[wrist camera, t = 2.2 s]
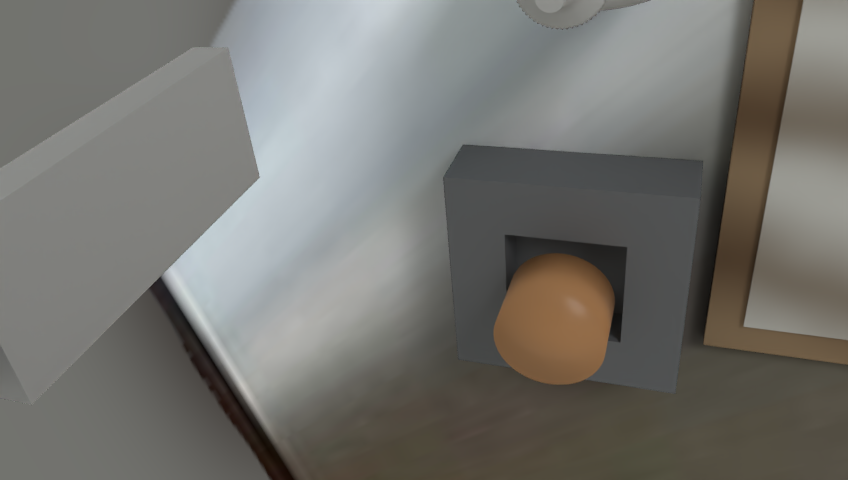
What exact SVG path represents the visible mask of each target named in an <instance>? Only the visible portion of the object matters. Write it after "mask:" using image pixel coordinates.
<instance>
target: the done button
mask: <svg viewBox="0 0 848 480" xmlns="http://www.w3.org/2000/svg"><path fill="white" fill-rule="evenodd" d="M614 306H615V296H614V291H613V289H612V286H611V284H610V282H609V280H608V279H607V278H606V276H605V275H604V274H603V273H602V272H601V271H600V270H599V269H598V268H597V267H595V266H594V265H592V264H591V263H589V262H587V261H585V260H584V259H581V258H579V257H576V256H572V255H568V254H562V253H549V254H542V255H539V256H535V257H533V258H531V259H529V260H527V261H526V262H524V263H523V264H522V265H521V266H520V267H519V268H518V269H517V270H516V272H515V273H514V275H513V278H512V280H511V283H510V285H509V288H508V291H507V293H506V296H505V298H504V301H503V304H502V306H501V309H500V312H499V314H498V317H497V319H496V322H495V325H494V333H493V335H494V341H495V345H496V347H497V350H498V352H499V353H500V355H501V356H502V358H503V359H504V360H505V361H506V362H507V363H508V364H509V365H510V366H511V367H512V368H513V369H514V370H516V371H517V372H519V373H520V374H522V375H524V376H526V377H528V378H530V379H532V380H535V381H538V382H542V383H547V384H554V385H565V384H572V383H577V382H580V381H583V380H585V379H587V378H589V377H590V376H592V375H593V374H594V373H595V372H596V371H597V370H598V369H599V368H600V366H601V365H602V363H603V361H604V358H605V353H606V348H607V343H608V338H609V333H610V327H611V322H612V317H613V312H614Z"/></svg>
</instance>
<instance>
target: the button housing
mask: <svg viewBox="0 0 848 480" xmlns="http://www.w3.org/2000/svg"><path fill="white" fill-rule="evenodd" d="M702 169H703V161H694V160H679V159H665V158H650V157H635V156H621V155H606V154H591V153H577V152H562V151H547V150H533V149H518V148H503V147H489V146H474V145H463V146H462V148H461V149H460V151H459V152H458V154H457V156H456V157H455V159H454V161H453V162H452V164H451V165H450V167H449V169H448V170H447V172H446V174H445V175H444V177H443V180H444V192H445V205H446V217H447V229H448V241H449V253H450V266H451V278H452V290H453V302H454V314H455V327H456V339H457V351H458V359H459V360H465V361H471V362H477V363H484V364H490V365H496V366H503V367H509V368H512V367H511V366H510V365H509V364H508V363H507V362H506V361H505V360H504V359H503V358H502V356H501V355H500V353H499V352H498V350H497V347H496V345H495V341H494V335H493V333H494V325H495V322H496V319H497V317H498V314H499V312H500V309H501V306H502V304H503V301H504V298H505V296H506V293H507V291H508V288H509V285H510V283H511V280H512V278H513V275H514V273H515V272H516V270H517V269H518V268H519V267H520V266H521V265H522V264H523V263H524V262H526V261H527V260H529V259H531V258H533V257H535V256H539V255H542V254H549V253H562V254H568V255H572V256H576V257H579V258H581V259H584V260H585V261H587V262H589V263H591V264H592V265H594V266H595V267H597V268H598V269H599V270H600V271H601V272H602V273H603V274H604V275H605V276H606V278H607V279H608V280H609V282H610V284H611V286H612V289H613V291H614V296H615V306H614V312H613V317H612V322H611V327H610V333H609V338H608V343H607V348H606V353H605V358H604V361H603V363H602V365H601V366H600V368H599V369H598V370H597V371H596V372H595V373H594V374H593V375H592V376H590V377H589V378H587V379H585V380H591V381H597V382H604V383H610V384H616V385H623V386H629V387H635V388H642V389H648V390H654V391H661V392H667V393H673V394H675V393H676V385H677V377H678V370H679V362H680V354H681V346H682V339H683V331H684V323H685V316H686V308H687V300H688V292H689V285H690V277H691V269H692V262H693V254H694V246H695V239H696V231H697V223H698V215H699V208H700V200H701V185H702Z"/></svg>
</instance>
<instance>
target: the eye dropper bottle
mask: <svg viewBox="0 0 848 480" xmlns="http://www.w3.org/2000/svg"><path fill="white" fill-rule="evenodd" d="M647 1H650V0H517V3H519V7H521V8H522V11H524V12H525V14H526V15H529V18H532V19H533V21H536V22H537V23H538V24H541V25H542V26H544V25H545V26H546V27H547V28H548V27H551V28H552V29H553V28H556V29H559V28H560V29H562V30H563V29H564V28H566V29H568V28H569V27H570V28H573V27H574V26H576V27H578V25H583V23H584V22H588V20H592V17H593V16H596V14H597V13H599V12H600V11H601V10H611V9H618V8H623V7H628V6H633V5H637V4H640V3H644V2H647Z"/></svg>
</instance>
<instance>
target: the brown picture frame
mask: <svg viewBox="0 0 848 480" xmlns="http://www.w3.org/2000/svg"><path fill="white" fill-rule="evenodd" d="M703 345H709V346H716V347H724V348H731V349H738V350H745V351H753V352H760V353H767V354H774V355H782V356H789V357H796V358H803V359H810V360H818V361H825V362H832V363H839V364H847V365H848V0H754V3H753V10H752V16H751V23H750V30H749V36H748V43H747V50H746V57H745V63H744V70H743V77H742V83H741V90H740V97H739V103H738V110H737V117H736V123H735V130H734V137H733V144H732V150H731V157H730V164H729V170H728V177H727V184H726V190H725V197H724V204H723V211H722V217H721V224H720V231H719V237H718V244H717V251H716V257H715V264H714V271H713V278H712V284H711V291H710V298H709V304H708V311H707V318H706V324H705V331H704V342H703Z"/></svg>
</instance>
